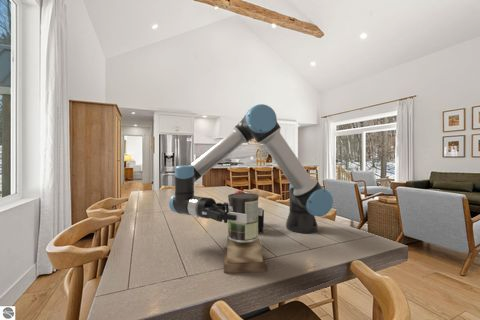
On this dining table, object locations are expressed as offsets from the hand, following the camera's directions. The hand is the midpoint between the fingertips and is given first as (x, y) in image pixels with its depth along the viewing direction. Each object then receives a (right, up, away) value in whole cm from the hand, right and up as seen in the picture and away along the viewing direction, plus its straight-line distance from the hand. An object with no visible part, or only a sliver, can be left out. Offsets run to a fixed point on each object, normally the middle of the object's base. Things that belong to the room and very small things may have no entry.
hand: (254, 215), depth 71 cm
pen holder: (+2, -16, +34) cm, 38 cm away
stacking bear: (-5, -16, +46) cm, 49 cm away
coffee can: (-4, -8, +2) cm, 9 cm away
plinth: (-4, -16, +2) cm, 17 cm away
